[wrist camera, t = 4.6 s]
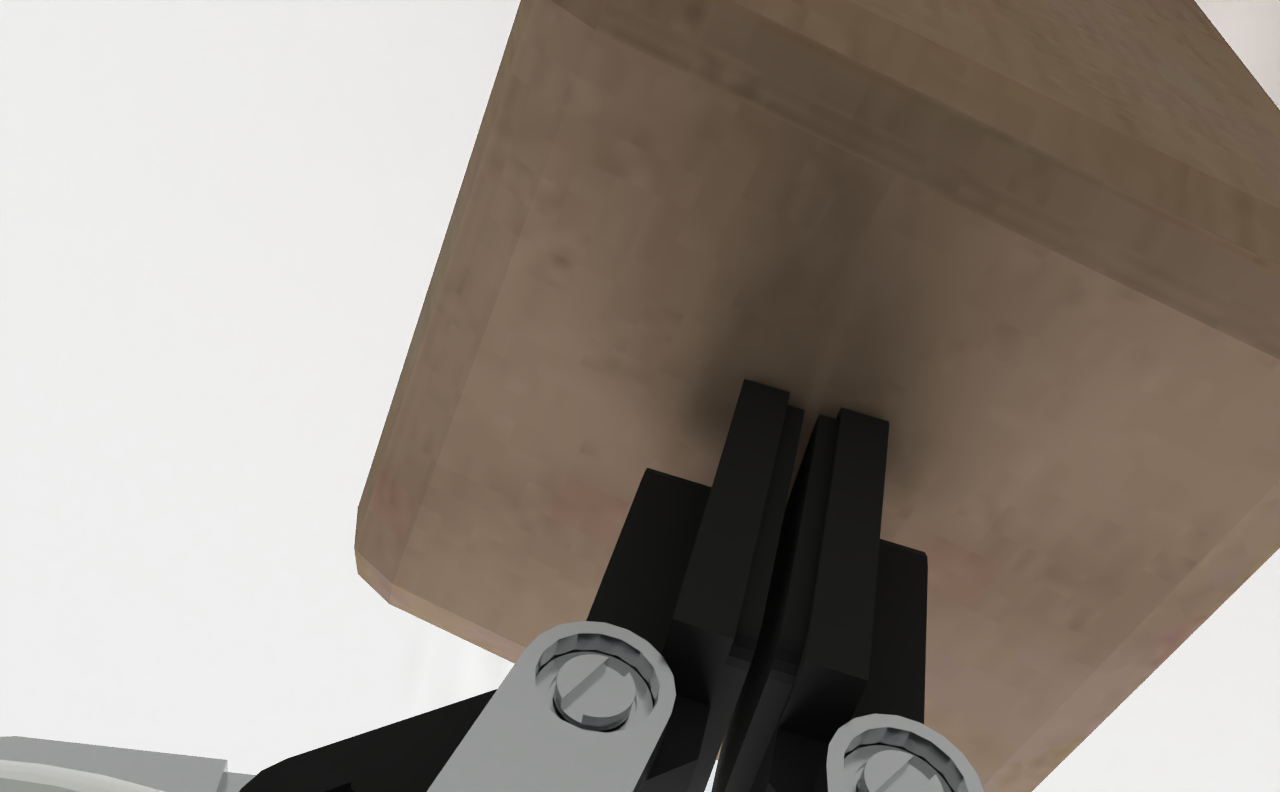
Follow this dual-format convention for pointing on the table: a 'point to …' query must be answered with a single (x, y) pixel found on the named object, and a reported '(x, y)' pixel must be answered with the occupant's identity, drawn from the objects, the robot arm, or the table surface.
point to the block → (863, 323)
